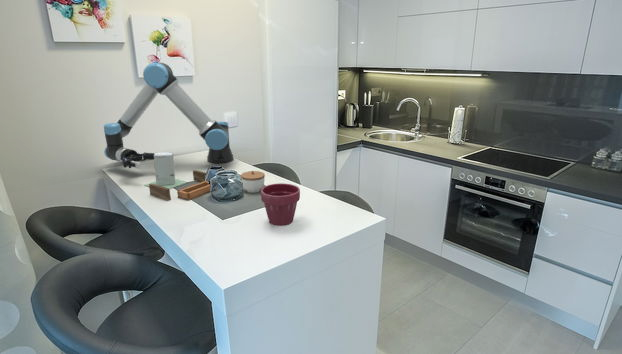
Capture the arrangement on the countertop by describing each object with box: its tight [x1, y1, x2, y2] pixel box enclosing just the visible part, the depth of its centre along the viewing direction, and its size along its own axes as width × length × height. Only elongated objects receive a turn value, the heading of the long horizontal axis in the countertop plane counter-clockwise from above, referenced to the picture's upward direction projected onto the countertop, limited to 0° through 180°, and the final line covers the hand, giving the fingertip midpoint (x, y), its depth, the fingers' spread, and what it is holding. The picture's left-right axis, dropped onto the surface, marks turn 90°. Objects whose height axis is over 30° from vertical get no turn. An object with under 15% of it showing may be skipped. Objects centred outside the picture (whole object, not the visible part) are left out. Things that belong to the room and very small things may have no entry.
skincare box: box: [153, 151, 176, 186], centre depth 166 cm, size 8×6×15 cm
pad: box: [144, 178, 189, 190], centre depth 168 cm, size 14×14×1 cm
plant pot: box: [260, 183, 301, 227], centre depth 129 cm, size 14×14×13 cm
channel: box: [148, 169, 207, 201], centre depth 161 cm, size 26×12×5 cm, turn 148°
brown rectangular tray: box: [176, 181, 211, 201], centre depth 157 cm, size 16×6×3 cm, turn 148°
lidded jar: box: [240, 170, 266, 193], centre depth 160 cm, size 11×11×9 cm
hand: (153, 162), depth 169 cm, fingers open, 13 cm apart
